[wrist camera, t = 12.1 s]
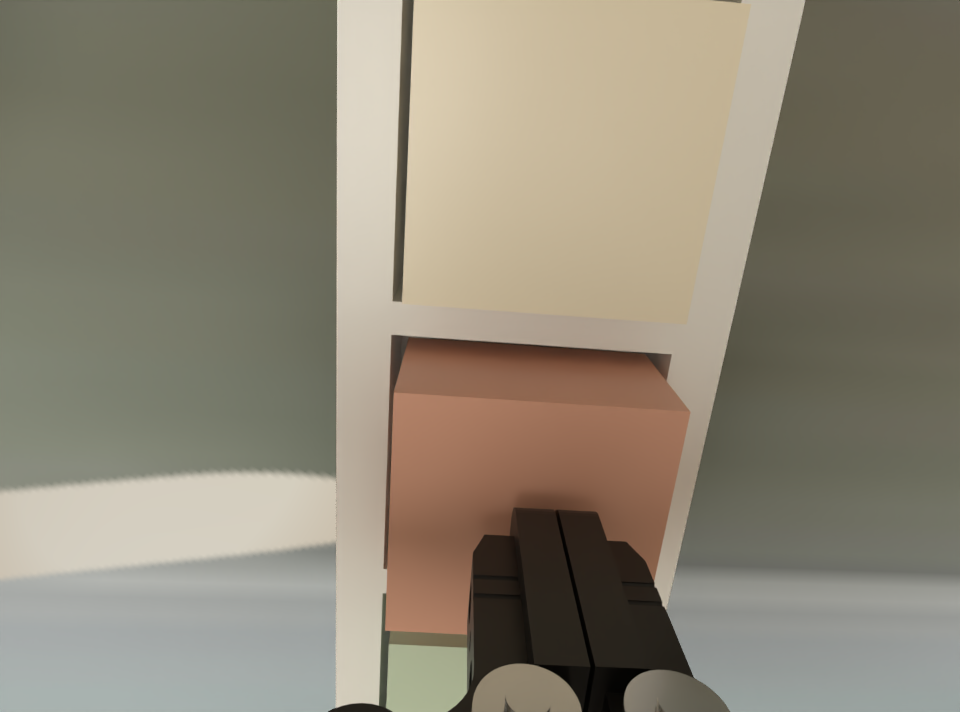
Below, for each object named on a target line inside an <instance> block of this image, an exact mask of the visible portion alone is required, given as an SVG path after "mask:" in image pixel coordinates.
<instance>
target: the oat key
mask: <svg viewBox="0 0 960 712" xmlns="http://www.w3.org/2000/svg"><path fill="white" fill-rule="evenodd" d="M750 8H751V4H745V3H734V2H724V1H713V0H414V10H413V36H412V62H411V87H410V113H409V138H408V164H407V190H406V215H405V241H404V267H403V292H402V304H409V305H423V306H437V307H451V308H465V309H479V310H493V311H506V312H520V313H534V314H548V315H562V316H576V317H590V318H604V319H617V320H631V321H645V322H659V323H673V324H687V320H688V315H689V310H690V305H691V300H692V295H693V290H694V285H695V280H696V275H697V270H698V265H699V260H700V255H701V250H702V246H703V241H704V236H705V231H706V226H707V221H708V216H709V211H710V206H711V201H712V196H713V191H714V186H715V181H716V176H717V171H718V166H719V161H720V156H721V152H722V147H723V142H724V137H725V132H726V127H727V122H728V117H729V112H730V107H731V102H732V97H733V92H734V87H735V82H736V77H737V72H738V67H739V62H740V58H741V53H742V48H743V43H744V38H745V33H746V28H747V23H748V18H749V13H750Z"/></svg>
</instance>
